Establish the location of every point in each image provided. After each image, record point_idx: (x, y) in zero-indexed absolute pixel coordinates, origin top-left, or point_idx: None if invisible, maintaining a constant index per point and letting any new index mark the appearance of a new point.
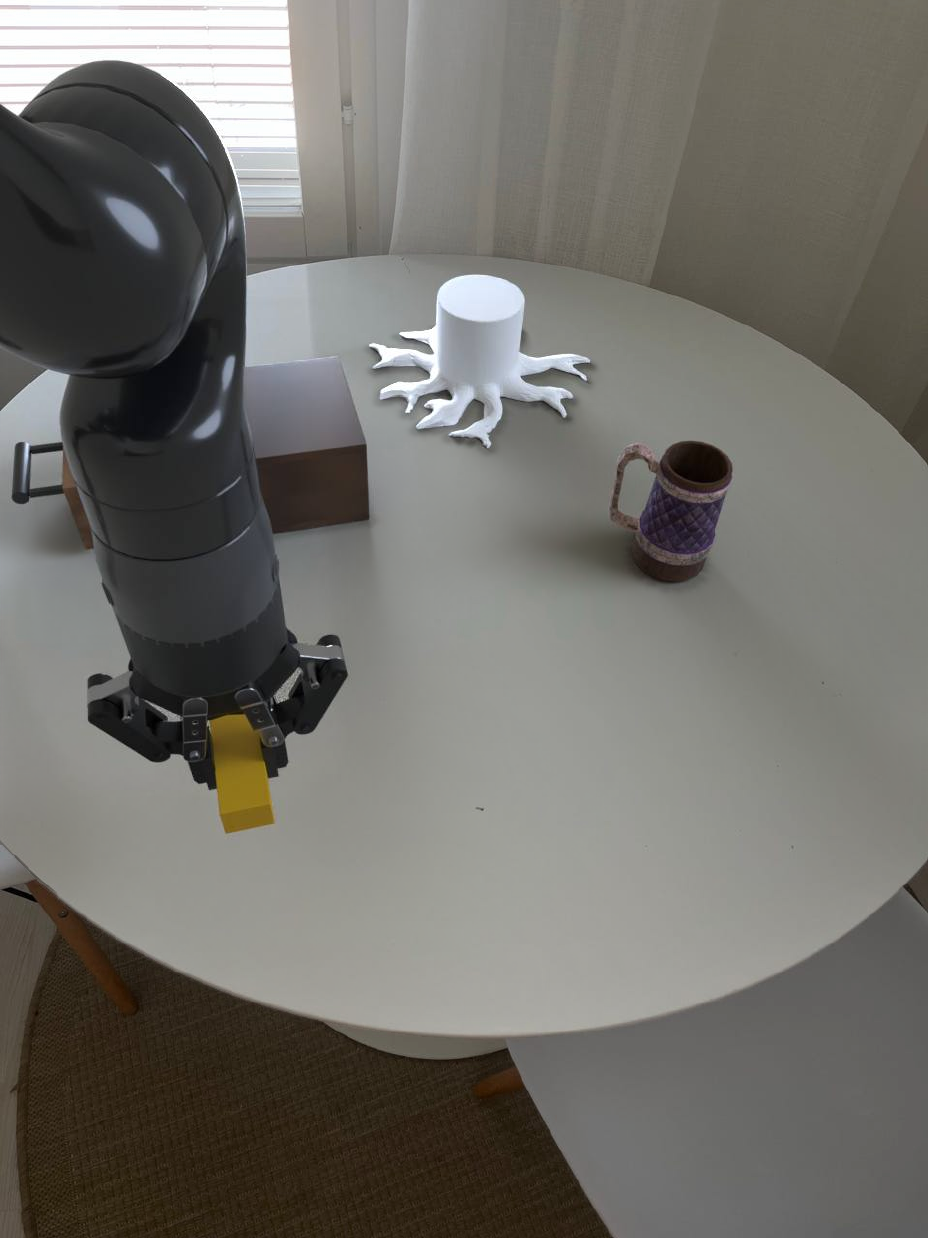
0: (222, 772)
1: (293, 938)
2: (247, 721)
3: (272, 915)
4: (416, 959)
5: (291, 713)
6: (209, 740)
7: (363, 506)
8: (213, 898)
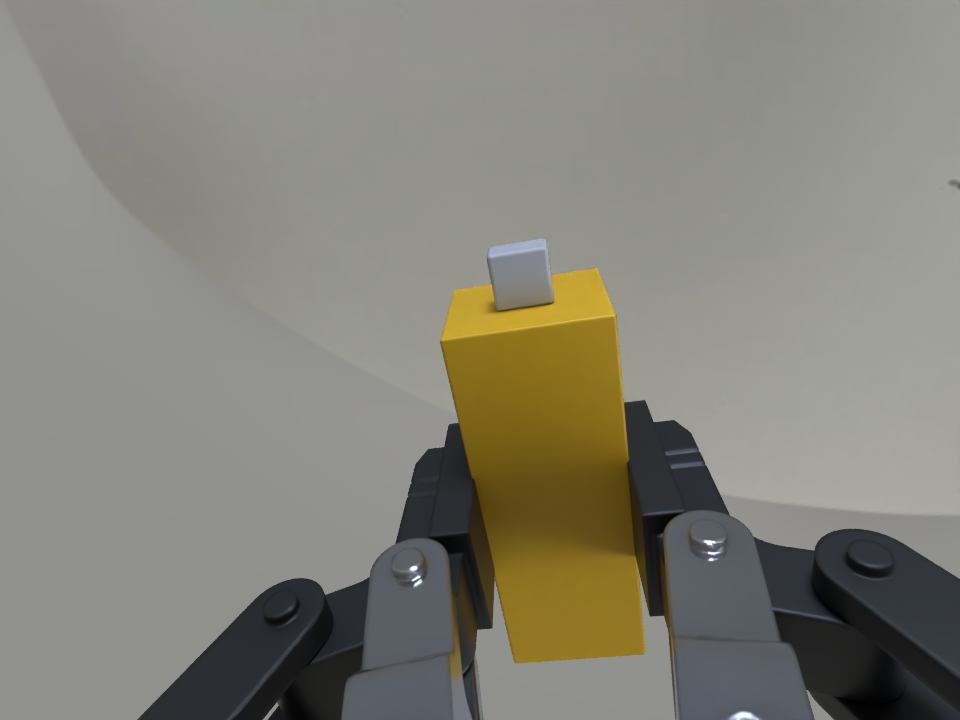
0: (514, 575)
1: None
2: (589, 430)
3: None
4: (751, 425)
5: (827, 677)
6: (478, 581)
7: None
8: None
